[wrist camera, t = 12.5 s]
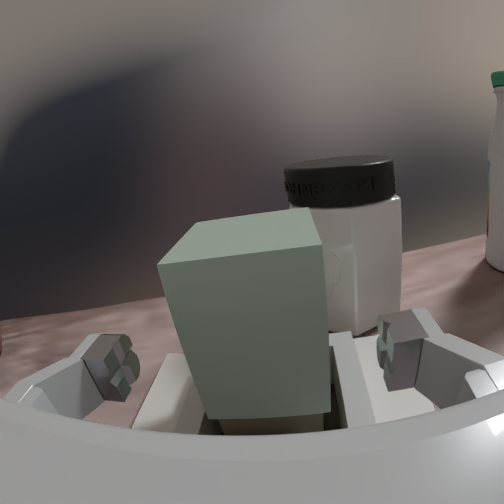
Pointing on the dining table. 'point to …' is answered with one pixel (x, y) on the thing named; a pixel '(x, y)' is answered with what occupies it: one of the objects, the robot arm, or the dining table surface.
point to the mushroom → (0, 342)
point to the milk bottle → (496, 180)
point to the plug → (254, 320)
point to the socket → (341, 375)
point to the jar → (353, 234)
